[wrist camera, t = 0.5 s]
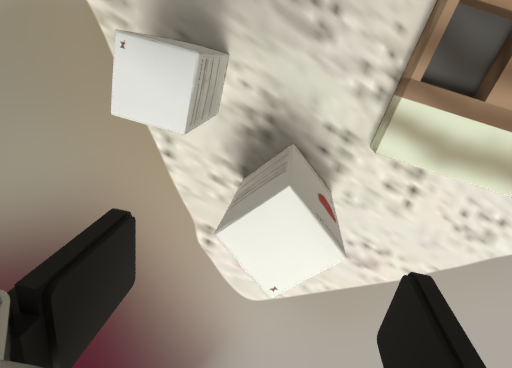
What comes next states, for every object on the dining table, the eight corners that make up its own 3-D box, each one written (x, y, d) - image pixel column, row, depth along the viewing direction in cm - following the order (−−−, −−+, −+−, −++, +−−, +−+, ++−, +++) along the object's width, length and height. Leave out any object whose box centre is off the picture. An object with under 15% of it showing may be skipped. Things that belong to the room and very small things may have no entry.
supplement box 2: (333, 194, 41) (350, 261, 27) (280, 227, 44) (270, 303, 30) (294, 140, 39) (290, 183, 25) (240, 178, 42) (210, 235, 28)
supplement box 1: (164, 99, 39) (106, 114, 27) (172, 37, 36) (112, 25, 24) (219, 115, 39) (184, 138, 27) (232, 54, 36) (199, 50, 24)
